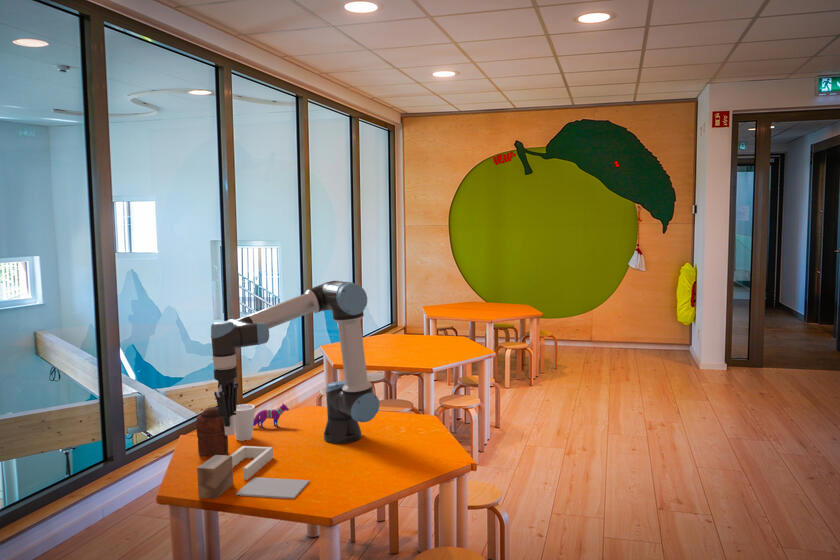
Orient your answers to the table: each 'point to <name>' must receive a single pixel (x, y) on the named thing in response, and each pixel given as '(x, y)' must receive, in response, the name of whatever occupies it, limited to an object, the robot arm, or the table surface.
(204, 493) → the walnut block
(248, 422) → the foam cup
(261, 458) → the bay
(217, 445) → the wooden figurine
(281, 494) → the mat
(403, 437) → the table surface
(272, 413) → the toy dog
